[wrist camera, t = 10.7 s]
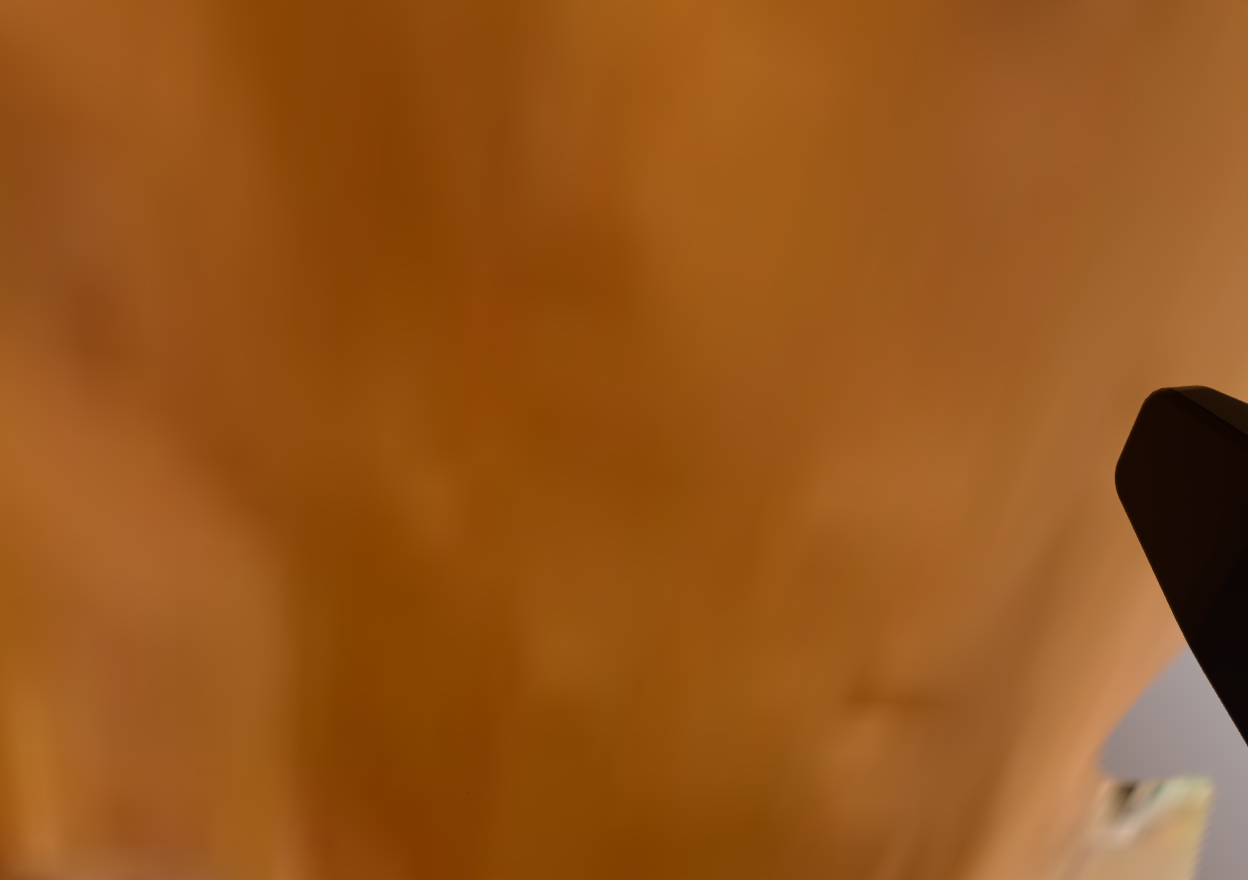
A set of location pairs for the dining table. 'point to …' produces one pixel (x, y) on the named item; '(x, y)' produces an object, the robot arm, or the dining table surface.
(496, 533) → the dining table surface
